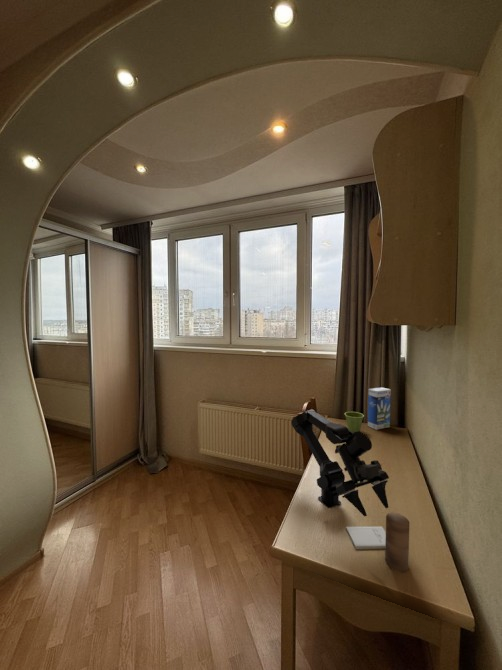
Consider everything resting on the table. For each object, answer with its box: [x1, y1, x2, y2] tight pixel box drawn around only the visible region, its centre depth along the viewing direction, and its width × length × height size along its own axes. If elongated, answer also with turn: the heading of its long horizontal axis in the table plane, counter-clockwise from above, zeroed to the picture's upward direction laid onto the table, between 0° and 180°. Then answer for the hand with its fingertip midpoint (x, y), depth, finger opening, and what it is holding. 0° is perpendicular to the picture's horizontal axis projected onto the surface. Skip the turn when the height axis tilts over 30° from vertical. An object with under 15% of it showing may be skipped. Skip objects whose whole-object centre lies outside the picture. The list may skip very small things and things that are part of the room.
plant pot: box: [344, 411, 365, 433], centre depth 175 cm, size 12×12×11 cm
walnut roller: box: [384, 512, 410, 573], centre depth 79 cm, size 6×6×13 cm
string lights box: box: [367, 386, 392, 431], centre depth 184 cm, size 13×8×26 cm, turn 115°
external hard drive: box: [345, 526, 386, 550], centre depth 89 cm, size 2×8×12 cm
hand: (376, 511), depth 86 cm, fingers open, 9 cm apart
